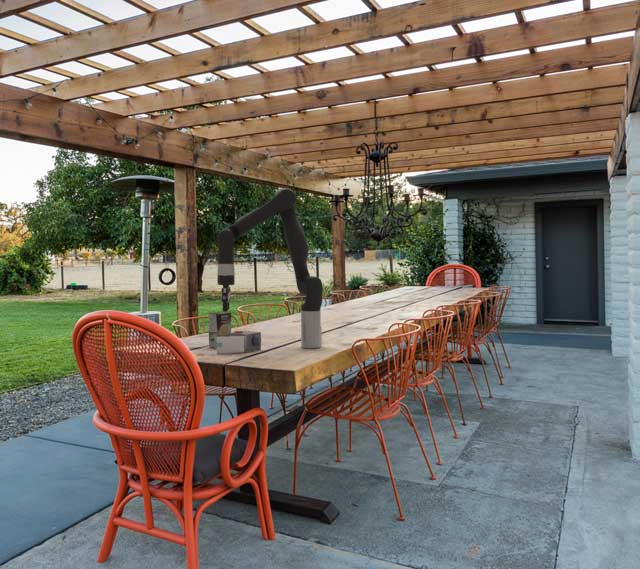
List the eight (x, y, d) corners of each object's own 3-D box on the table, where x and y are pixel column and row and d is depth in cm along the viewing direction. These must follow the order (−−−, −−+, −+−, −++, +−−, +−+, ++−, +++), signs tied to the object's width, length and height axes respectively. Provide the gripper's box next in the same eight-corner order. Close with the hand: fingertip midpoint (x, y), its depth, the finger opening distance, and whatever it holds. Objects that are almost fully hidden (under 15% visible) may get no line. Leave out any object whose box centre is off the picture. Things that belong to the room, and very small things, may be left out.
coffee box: (218, 348, 261) (217, 314, 260) (208, 347, 265) (207, 313, 264) (232, 345, 269) (231, 312, 268) (222, 344, 272) (221, 311, 271)
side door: (216, 352, 248) (216, 336, 248) (246, 351, 249) (246, 335, 249) (216, 353, 247) (216, 336, 246) (246, 352, 248) (246, 336, 248)
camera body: (244, 347, 263) (244, 328, 263) (263, 349, 257) (263, 330, 256) (230, 350, 255) (230, 331, 255) (249, 352, 249) (249, 333, 248)
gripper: (218, 273, 255) (218, 309, 256) (215, 274, 241) (215, 312, 242) (235, 273, 256) (235, 309, 257) (233, 274, 242) (233, 312, 242)
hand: (226, 310), depth 249 cm, fingers open, 8 cm apart
